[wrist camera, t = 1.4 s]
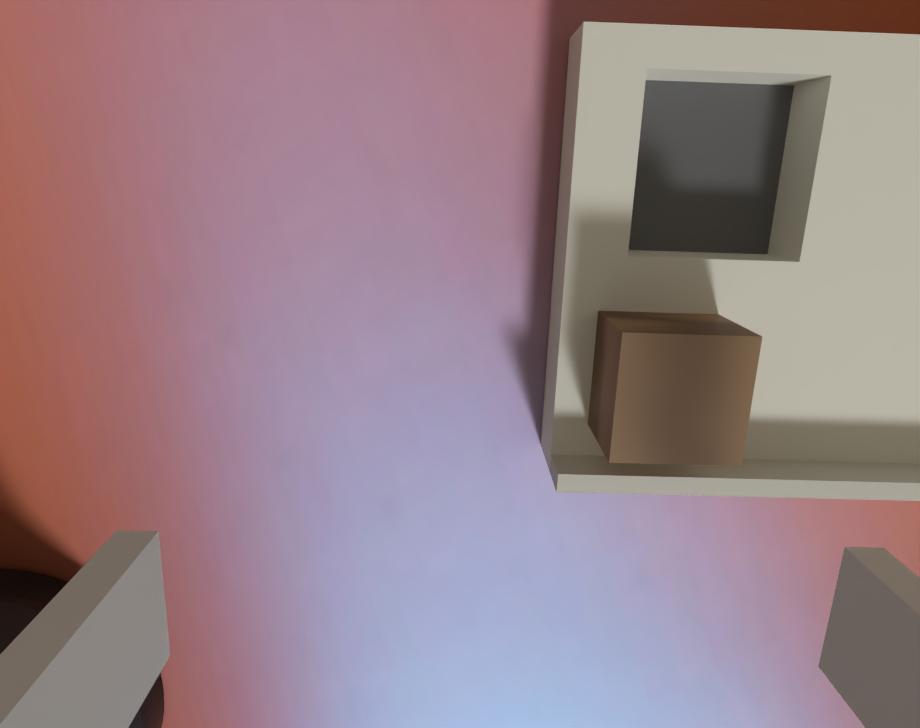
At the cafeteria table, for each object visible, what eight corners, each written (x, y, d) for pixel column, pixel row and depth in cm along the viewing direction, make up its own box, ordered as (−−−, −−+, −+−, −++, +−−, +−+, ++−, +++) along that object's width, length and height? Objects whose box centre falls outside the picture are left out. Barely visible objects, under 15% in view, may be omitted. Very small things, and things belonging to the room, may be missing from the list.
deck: (540, 444, 32) (560, 503, 26) (569, 38, 27) (601, -1, 21) (1065, 458, 32) (1199, 518, 27) (1187, 61, 27) (1382, 30, 22)
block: (587, 424, 28) (609, 462, 24) (598, 310, 27) (622, 332, 23) (702, 427, 28) (741, 466, 25) (718, 314, 27) (762, 336, 23)
